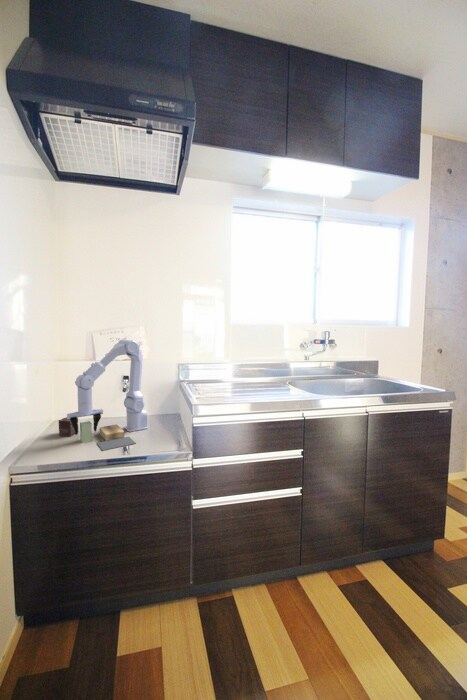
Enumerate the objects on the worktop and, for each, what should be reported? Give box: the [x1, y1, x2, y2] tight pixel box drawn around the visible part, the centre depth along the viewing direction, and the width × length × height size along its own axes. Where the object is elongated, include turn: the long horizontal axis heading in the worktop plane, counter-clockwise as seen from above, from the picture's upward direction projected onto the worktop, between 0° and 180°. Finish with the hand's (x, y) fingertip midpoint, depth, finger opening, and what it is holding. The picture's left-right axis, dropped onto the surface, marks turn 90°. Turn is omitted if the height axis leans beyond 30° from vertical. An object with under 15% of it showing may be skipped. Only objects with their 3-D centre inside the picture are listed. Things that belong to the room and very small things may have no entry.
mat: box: [96, 436, 137, 452], centre depth 145 cm, size 14×10×1 cm
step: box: [98, 424, 125, 441], centre depth 154 cm, size 8×12×3 cm, turn 35°
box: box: [58, 416, 80, 437], centre depth 155 cm, size 6×6×7 cm
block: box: [79, 420, 93, 444], centre depth 148 cm, size 4×4×8 cm
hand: (85, 432), depth 148 cm, fingers open, 7 cm apart
